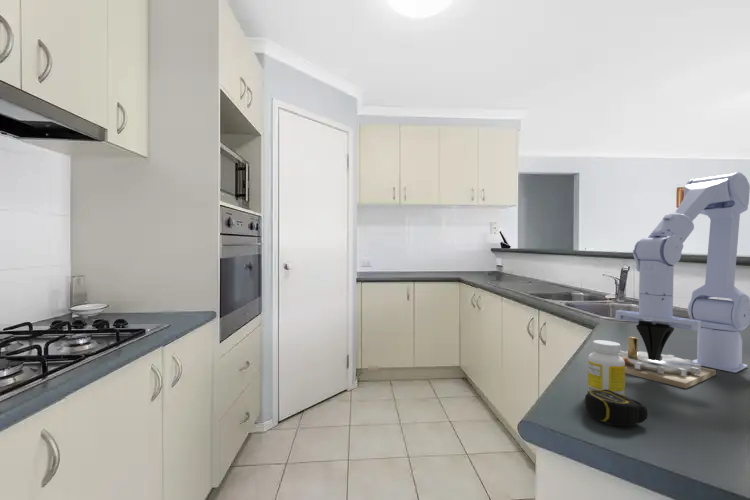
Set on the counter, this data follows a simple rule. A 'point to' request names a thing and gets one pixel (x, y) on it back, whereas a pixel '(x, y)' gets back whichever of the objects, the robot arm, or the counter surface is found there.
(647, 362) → the sprocket
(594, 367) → the supplement bottle
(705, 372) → the sprocket base
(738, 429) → the counter surface
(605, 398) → the tape measure
